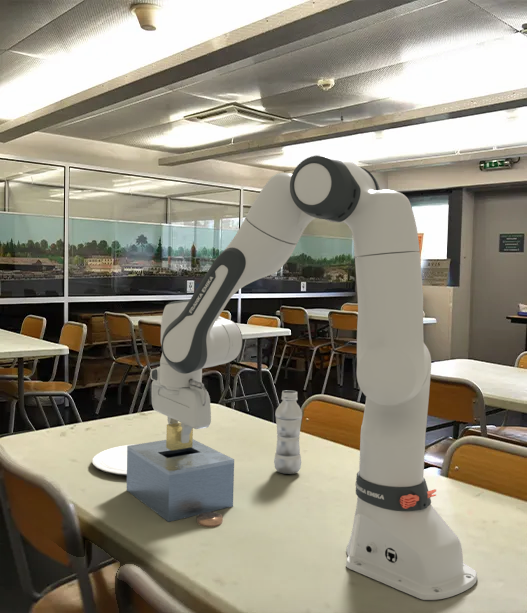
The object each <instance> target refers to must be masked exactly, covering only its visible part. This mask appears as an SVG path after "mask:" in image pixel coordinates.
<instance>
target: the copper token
mask: <svg viewBox="0 0 527 613" xmlns="http://www.w3.org/2000/svg"><path fill="white" fill-rule="evenodd" d="M196 517H197V518H196V523H197V525H200V526H201V527H205V526H206V527H207V528H211V527H217V526H220V525H222V524H223V522H224V520H223V519H224V517H223V515H222V514H221V513H219V512H217V511H212V512H204V513H201V514H199V515H196Z"/></svg>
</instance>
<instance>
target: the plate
mask: <svg viewBox="0 0 527 613" xmlns="http://www.w3.org/2000/svg"><path fill="white" fill-rule="evenodd" d="M136 444H137V443H134V444H131V445H136ZM129 445H130V444H125V445H119V446H115V447H110V448H108V449H105V450H102V451H100V452H98V453H97V454H95V455H94V456H93V458H92V459H91V462H92V466H94V467H95V468H96V469H97V470H100V471H102V472H105V473H108V474H113V475H117V476H125V477H127V446H129Z"/></svg>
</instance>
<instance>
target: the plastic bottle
mask: <svg viewBox="0 0 527 613" xmlns="http://www.w3.org/2000/svg"><path fill="white" fill-rule="evenodd" d="M280 400H282V401H281V403H279V405H277V406H278V407H276V409H275V415H274V416H275V422H276V448H275V453H274V454H275V455H274V459H273V463H274V464H273V465H274V469H275V471H276V472H278V473H280V474H285V475H286V474H287V475H292V474H293V475H294V474H297V473H299V471H300V470H301V468H302V457H301V453H300V452H301V450H300V449H301V447H300V434H301V424H302V420H303V419H302V418H303V411H302V409H301V407H300V405H299V403H297V401H298V400H299V399H298V391H296V390H282V392H281V398H280Z"/></svg>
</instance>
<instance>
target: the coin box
mask: <svg viewBox="0 0 527 613" xmlns="http://www.w3.org/2000/svg"><path fill="white" fill-rule="evenodd" d="M135 444H136V445H132V444H128V445H129V446H127V476H126V491H127V492H128V493H130V494H131V495H132V496H134V497H135V498H136V499H137V500H139V501H140V502H142V503H143V504H144V505H145V506H147V507H148V508H149V509H151V510H152V511H153V512H154V513H156V514H157V515H158V516H160V517H161V518H162V519H164V520H165V521H166V522H167V523H170V522H173V521H179V520H181V519H187V518H190V517H194V516H195V517H196V516H198V515H199V514H201V513H204V512H217V511H220V510H224V509H229V508H232V507H234V489H235V488H234V483H235V482H234V481H235V480H234V479H235V459H234V458H233V457H230V456H228V455H227V454H224V453H222V452H220V451H218V450H216V449H214V448H212V447H209V446H208V445H206V444H204V443H201V442H200V441H198V440H196V439H193V443H192V447H190V448H184V449H178V450H172V451H171V450H169V449H168V448H166V439H162V440H157V441H156V440H155V441H149V442H144V443H143V442H142V443H138V444H137V443H135Z"/></svg>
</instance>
